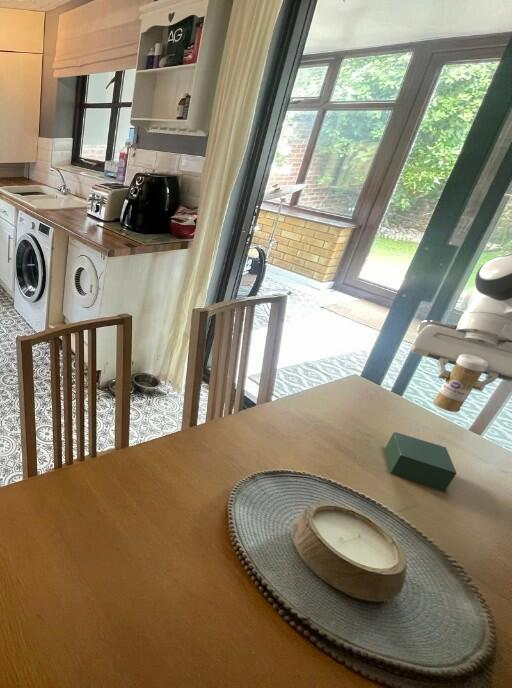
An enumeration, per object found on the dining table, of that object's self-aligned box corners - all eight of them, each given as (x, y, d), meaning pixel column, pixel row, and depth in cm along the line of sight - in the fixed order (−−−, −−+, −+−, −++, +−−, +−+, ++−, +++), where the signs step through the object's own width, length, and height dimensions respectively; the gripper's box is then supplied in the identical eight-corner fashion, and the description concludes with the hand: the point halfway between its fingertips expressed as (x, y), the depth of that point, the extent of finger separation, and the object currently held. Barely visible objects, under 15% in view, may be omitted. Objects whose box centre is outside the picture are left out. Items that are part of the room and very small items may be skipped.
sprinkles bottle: (431, 405, 97) (458, 357, 91) (434, 397, 100) (461, 351, 94) (458, 415, 94) (488, 366, 88) (460, 407, 97) (490, 359, 91)
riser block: (434, 464, 95) (445, 447, 93) (444, 491, 89) (456, 473, 86) (384, 448, 100) (394, 431, 98) (390, 473, 93) (400, 455, 91)
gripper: (425, 312, 100) (401, 360, 98) (558, 344, 86) (533, 401, 84) (420, 322, 105) (397, 369, 103) (545, 355, 90) (521, 409, 89)
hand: (459, 383), depth 93 cm, fingers closed on sprinkles bottle, 4 cm apart
